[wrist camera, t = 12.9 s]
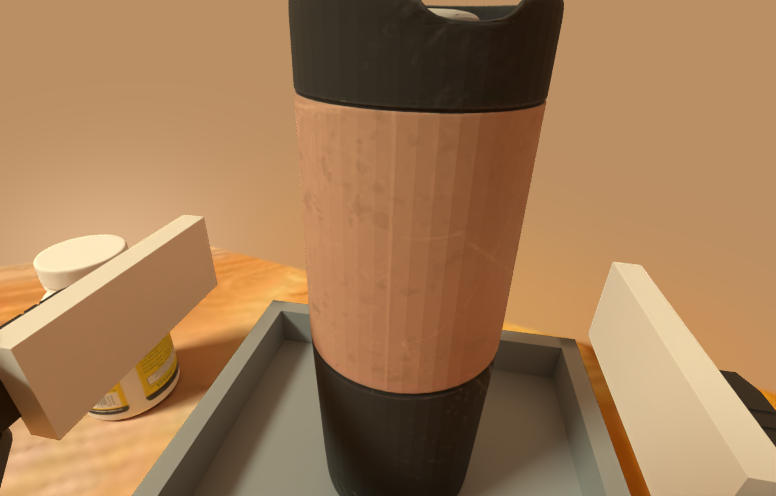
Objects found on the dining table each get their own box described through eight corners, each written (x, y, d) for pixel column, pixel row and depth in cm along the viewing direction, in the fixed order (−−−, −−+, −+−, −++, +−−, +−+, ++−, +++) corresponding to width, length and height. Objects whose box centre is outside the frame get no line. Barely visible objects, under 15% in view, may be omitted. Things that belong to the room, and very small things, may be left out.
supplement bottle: (172, 346, 29) (135, 220, 24) (190, 396, 25) (150, 258, 20) (80, 378, 26) (17, 243, 21) (83, 440, 22) (9, 292, 17)
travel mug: (378, 375, 25) (386, 6, 16) (494, 437, 22) (595, 5, 12) (289, 471, 20) (218, -13, 10) (425, 577, 16) (514, -24, 7)
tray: (561, 379, 27) (574, 339, 25) (664, 751, 13) (709, 715, 11) (278, 338, 30) (273, 300, 28) (111, 610, 16) (81, 565, 14)
